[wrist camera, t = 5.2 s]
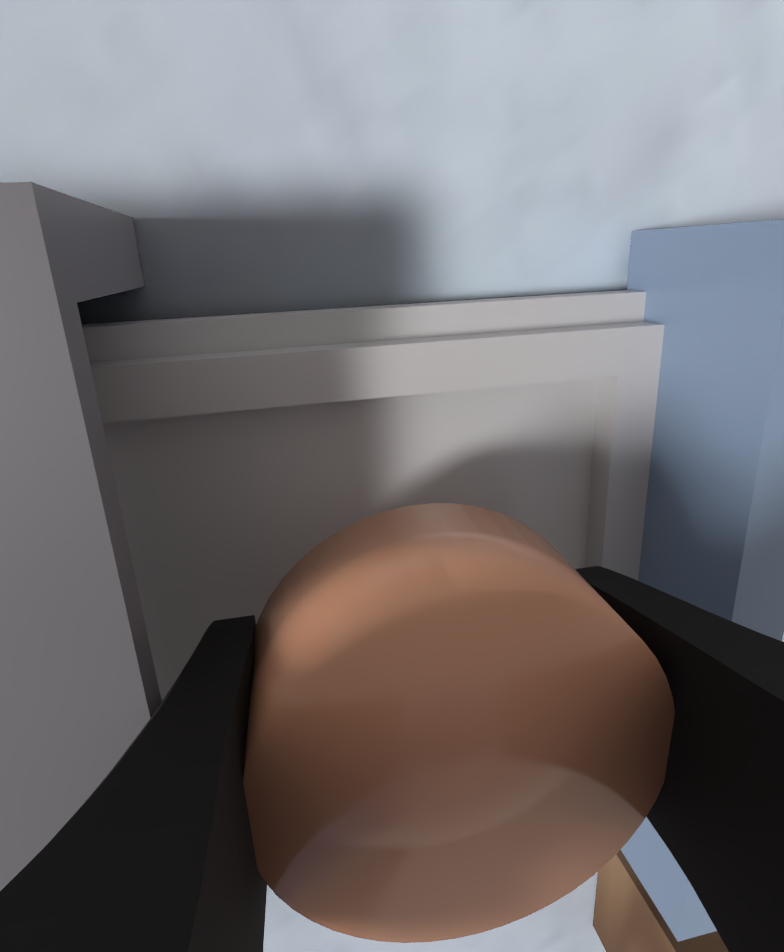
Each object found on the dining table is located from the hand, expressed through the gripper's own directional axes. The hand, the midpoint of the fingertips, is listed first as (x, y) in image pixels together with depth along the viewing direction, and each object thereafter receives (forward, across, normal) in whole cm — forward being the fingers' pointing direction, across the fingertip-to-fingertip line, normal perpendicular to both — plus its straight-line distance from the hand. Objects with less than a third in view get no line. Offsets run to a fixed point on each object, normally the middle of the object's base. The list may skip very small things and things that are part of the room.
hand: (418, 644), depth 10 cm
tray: (+2, 0, 0) cm, 2 cm away
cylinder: (0, 0, 0) cm, 0 cm away
